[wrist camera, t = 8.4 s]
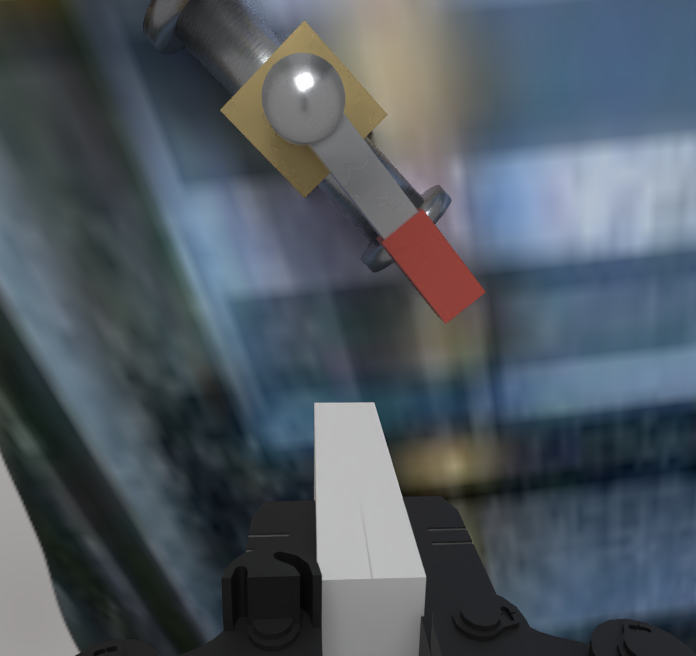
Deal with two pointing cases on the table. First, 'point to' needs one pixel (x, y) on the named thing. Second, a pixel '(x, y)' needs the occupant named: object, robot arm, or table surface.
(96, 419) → the table surface
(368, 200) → the lever
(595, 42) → the table surface
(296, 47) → the valve
